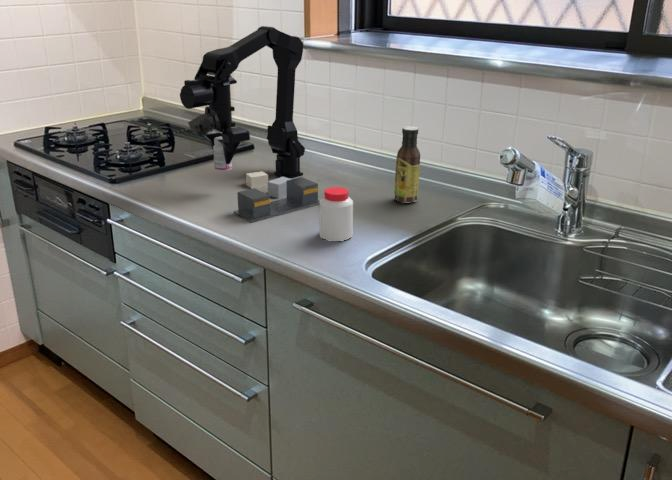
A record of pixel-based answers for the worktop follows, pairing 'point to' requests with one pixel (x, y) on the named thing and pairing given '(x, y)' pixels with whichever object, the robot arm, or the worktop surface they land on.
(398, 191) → the sauce bottle
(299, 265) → the worktop surface
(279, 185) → the grey block
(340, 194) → the pill bottle
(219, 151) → the pill bottle
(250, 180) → the cream rectangular block
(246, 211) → the dark grey block rack
